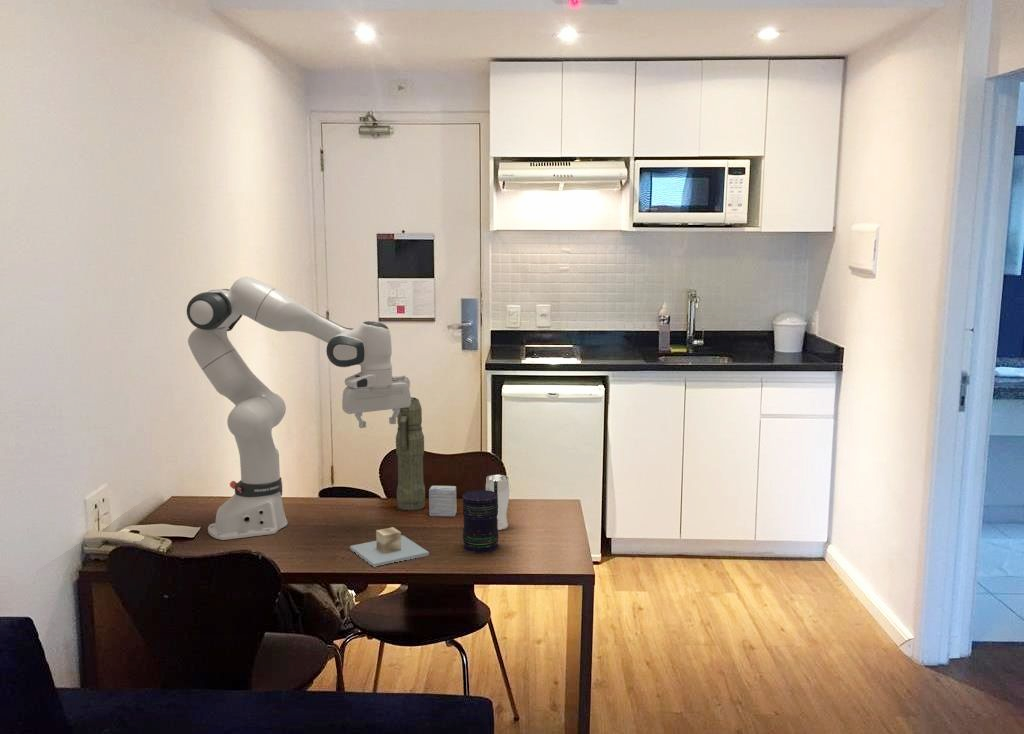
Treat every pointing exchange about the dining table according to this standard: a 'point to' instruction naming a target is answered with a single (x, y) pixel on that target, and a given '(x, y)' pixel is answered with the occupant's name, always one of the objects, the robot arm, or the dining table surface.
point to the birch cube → (388, 540)
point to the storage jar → (480, 521)
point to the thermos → (410, 457)
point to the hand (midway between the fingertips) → (377, 425)
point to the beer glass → (500, 497)
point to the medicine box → (442, 501)
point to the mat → (379, 558)
